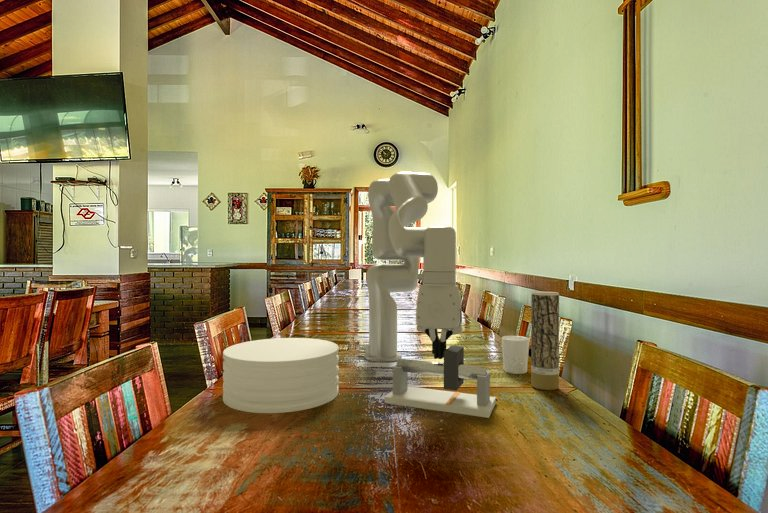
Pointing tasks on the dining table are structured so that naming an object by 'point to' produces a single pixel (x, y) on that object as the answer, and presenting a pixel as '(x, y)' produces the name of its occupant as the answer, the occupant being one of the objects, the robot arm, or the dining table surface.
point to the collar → (453, 367)
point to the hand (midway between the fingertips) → (439, 357)
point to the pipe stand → (441, 396)
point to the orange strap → (452, 398)
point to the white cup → (515, 354)
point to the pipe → (439, 368)
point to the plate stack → (280, 374)
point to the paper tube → (545, 340)
